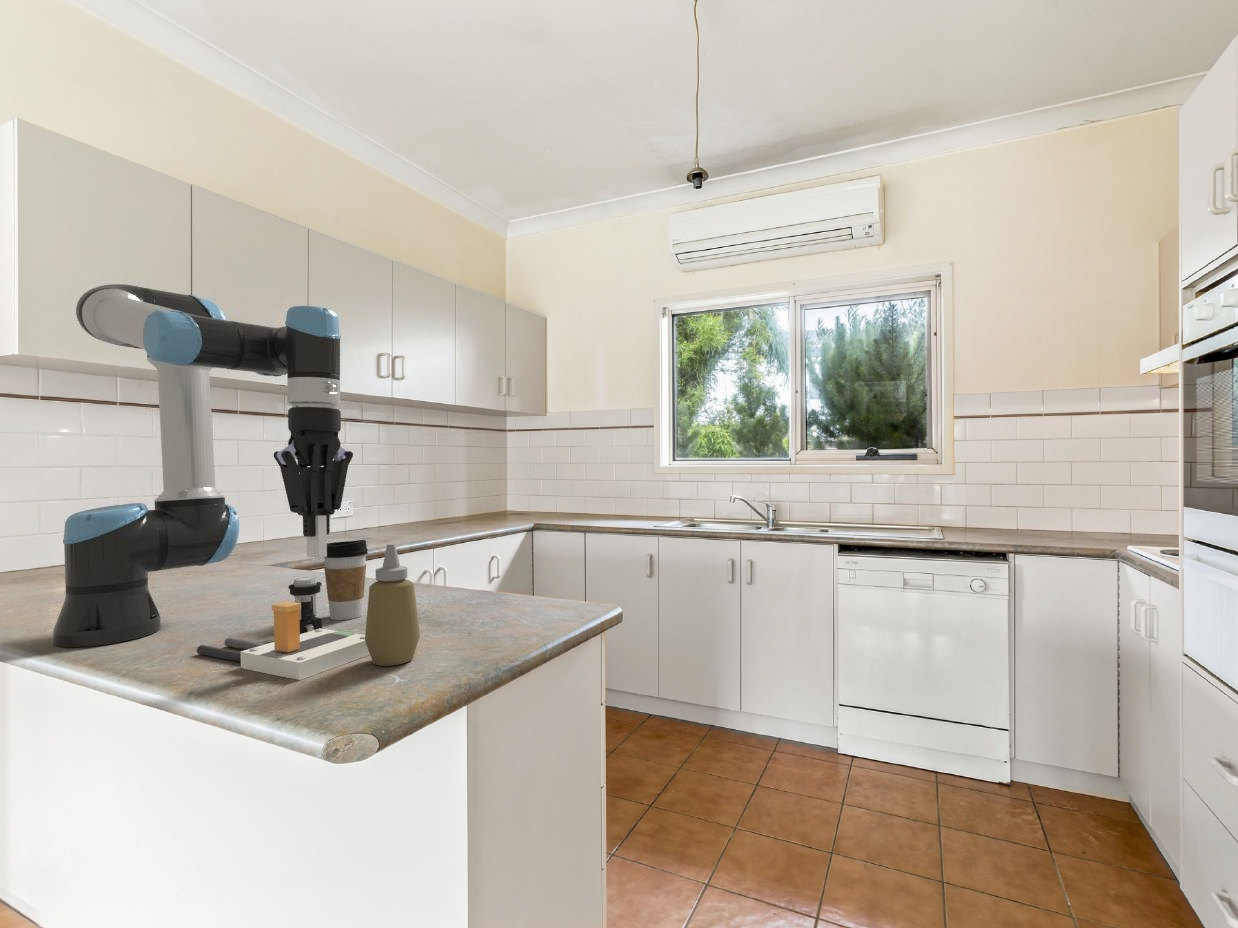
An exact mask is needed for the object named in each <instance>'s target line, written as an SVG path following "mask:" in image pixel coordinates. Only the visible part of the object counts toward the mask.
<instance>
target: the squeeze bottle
mask: <svg viewBox="0 0 1238 928" xmlns="http://www.w3.org/2000/svg"><path fill="white" fill-rule="evenodd" d="M407 578H408V567H407V566H404V565H401V564H400V559H399V555H398V550H397V546H396V544H395V543H394V544H392V543H391V544H386V547H385V554H384V559H383V564H382V567H377V568H376V569H375V580H376V581H375V582H373V583H372V584H371V585H370V586H369V588H368V589H369V590H368V600H367V610H366V622H365V634H364V635H365V643H366V645H367V648H368V651H369V653H370V655H369V656H370V658H371V661H372V663H373V665H375V666H383V667H384V666H385V667H386V666H397V665H401V664H402V665H403V664H405V663H408V662H410V661H412V660H413V659H414V655H415V653H416V651H417V650H416V649H417V648H418V647H417V646H418V643H419V640H420V636H421V632H420V624H419V623H420V622H419V617H418V609H417V599H416V592H415V584H414V582H413V581H411V580H409V579H407Z"/></svg>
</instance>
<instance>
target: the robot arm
mask: <svg viewBox="0 0 1238 928" xmlns="http://www.w3.org/2000/svg"><path fill="white" fill-rule="evenodd" d="M75 316H76V319H77V322H78V324H79V325H80V327H81V328H82V329H83V331H85V332H86V334H88V335H90V336H91V337H93V338H94V339H97V340H99V341H101V342H105V343H108V344H112V345H115V346H120V347H125V348H133V349H137V350H138V349H139V350H144V351H145V352H146V356H147V357H146V360H147V362H148V363H149V364H150V365H152V366H153V367H154V368H155V369H156V370H157V387H158V405H159V406H158V407H159V408H158V409H159V423H160V424H159V425H160V427H159V428H160V443H161V444H160V447H161V448H160V449H161V463H162V484H163V485H162V486H163V487H162V488H163V491H161V493H160V494H159V495H158V496H157V497H156V498H155V499H154V509H149V508H148V507H147V505H146V504H145V503H142V502H136V503H135V502H134V503H127V504H126V503H125V504H115V505H109V506H102V507H96V508H91V509H86V510H82V511H78V512H74V513H73V514H71V515H70V516H68V517H67V519H65V522H64V532H63V539H62V544H63V545H64V580H65V581H64V583H65V598H64V602H63V604H62V607H61V609H60V613H59V615H58V617H57V620H56V623H55V625H54V628H53V631H52V634H53V635H52V638H53V639H52V641H53V645H54V646H57V647H63V648H80V647H81V648H82V647H83V648H84V647H94V646H102V645H109V644H116V643H121V642H126V641H131V640H132V641H133V640H136V639H139V638H143V637H147V636H149V635H151V634H154V633H157V632H158V631H159V630H161V627H162V626H161V615H160V612H159V610H158V608H157V606H156V603H155V601H154V599H153V596H152V593H151V592H150V590H149V573H151V572H158V571H159V572H160V571H165V570H172V569H174V570H175V569H182V568H188V567H196V566H198V567H200V566H201V567H202V566H206V565H208V564H214V563H220V562H222V561H225V560H226V559H227V558H229V557H230V555H231V554H232V553H233V550H235V548H236V546H237V542H238V539H239V534H240V533H239V532H240V519H239V516H238V512H237V510H236V508H235V507H234V506H232V505H229V504H227V503H226V499H225V498H226V496H225V495H224V494H223V493H221V491H219V490H218V489H217V488H216V474H215V471H216V469H215V453H214V434H213V419H212V418H213V416H212V400H211V399H212V397H211V395H212V394H211V381H210V380H211V379H210V378H211V375H210V371H211V370H212V369H217V368H218V369H226V370H232V371H241V372H251V373H255V374H257V375H260V376H263V377H264V376H265V377H275V378H276V377H281V376H285V375H287V376H286V377H287V383H286V384H287V389H286V390H287V394H286V395H287V404H288V405H290V406H291V407H290V408H289V409H288V410H287V428H288V429H287V430H289V432H290V437H289V439H288V440H287V441H288V442H287V446H286V447H284V448H283V449H282V450H279V451H278V450H275V452H274V453H273V458H274V460H275V461H276V464H278V466H279V469H280V472H281V477H282V480H283V481H282V482H283V485H284V489H285V493H286V498H287V502H288V506H289V510H290V512H291V513H294V514H295V513H296V514H297V515H298V516H301V517H302V534H303V537H305V538H306V557H308V558H317V559H321V558H324V557H327V541H328V540H327V538H328V537H327V536H328V535H330V530H331V529H330V527H331V525H330V524H331V523H330V521H331V519H330V516H333V515H334V514H335V512H336V511H339V510H340V509H341V507H342V502H343V497H344V496H343V495H344V490H345V485H346V479H347V475H348V469H349V465H350V463H351V461H352V458H353V457H354V452H353V451H351V450H346V449H345V448H343V447H342V446H341V445H342V444H341V440H340V439H339V438H340V437H339V432H340V431H342V417H341V415H342V414H341V413H342V411H341V410H340V409H339V408H337V407H338V406H340V405H341V337H342V336H341V334H340V324H339V323H340V321H339V320H340V319H339V316H338V314H337V313H336V312H335V311H334V310H332V309H331V308H330V309H329V308H326V307H322V306H315V305H314V306H313V305H295V306H291V307H289V308H288V310H287V311H286V316H285V326H281V327H271V326H266V325H258V324H252V323H247V322H239V321H233V320H227V318H226V316H225V313H224V312H223V309H221V308H220V307H219V305H218V304H217V303H215V302H214V301H213V300H210V299H205V298H201V297H197V296H194V295H192V294H182V293H175V292H170V291H165V290H159V289H153V288H147V287H142V286H137V285H132V284H119V283H117V284H115V283H112V284H111V283H110V284H104V285H99V286H96V287H93V288H91V289H89V290H87V291H85V292H84V293H83V294H82V295H81V296H80V298H79V299H78V301H77V302H76V306H75ZM296 460H297V461H296Z"/></svg>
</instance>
